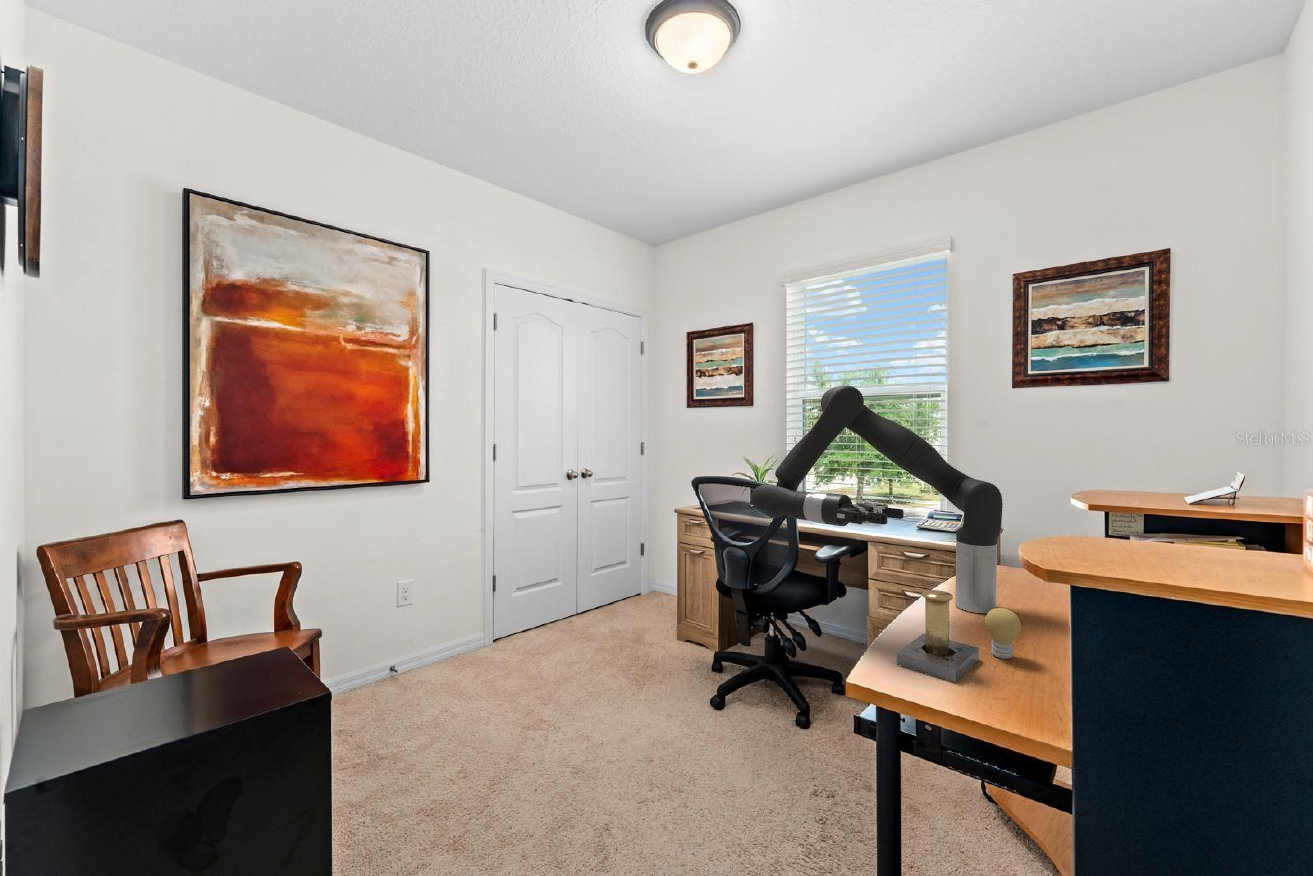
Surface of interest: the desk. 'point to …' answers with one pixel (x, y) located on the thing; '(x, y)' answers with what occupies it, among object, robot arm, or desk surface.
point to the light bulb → (1002, 631)
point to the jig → (939, 659)
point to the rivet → (937, 622)
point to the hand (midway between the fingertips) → (895, 516)
